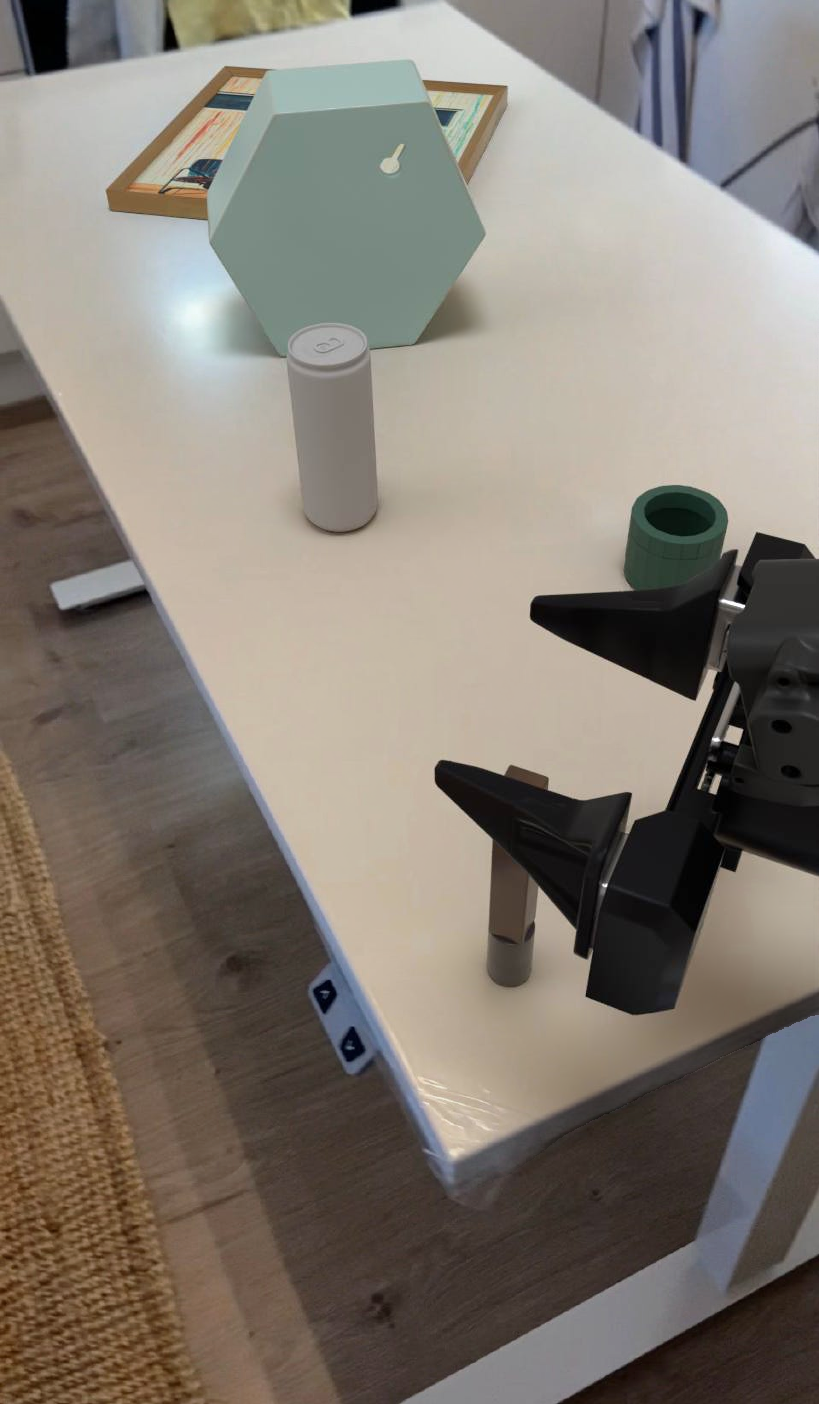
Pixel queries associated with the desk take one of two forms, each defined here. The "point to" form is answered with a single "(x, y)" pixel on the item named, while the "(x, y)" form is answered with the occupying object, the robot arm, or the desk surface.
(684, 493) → the green round lever base
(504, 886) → the brown lever handle
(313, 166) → the mint green hexagonal prism
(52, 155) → the desk surface
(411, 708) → the desk surface
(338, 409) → the beverage can
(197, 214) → the picture frame
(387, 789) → the desk surface
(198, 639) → the desk surface
